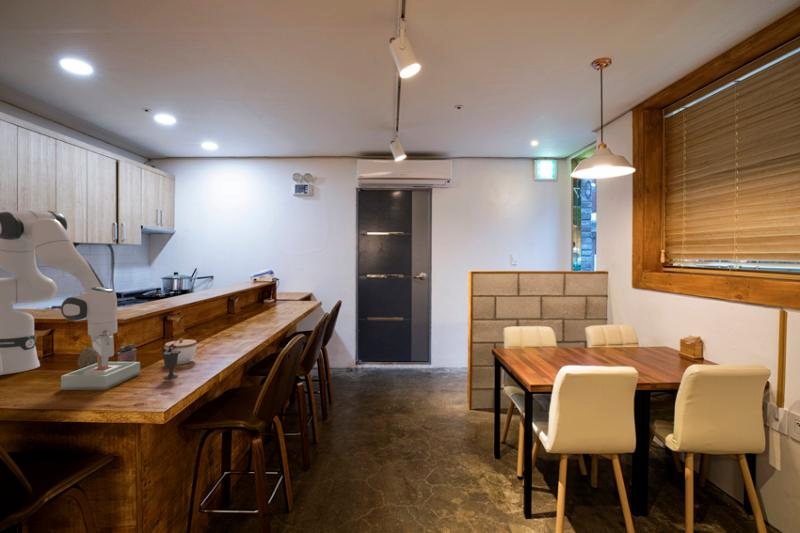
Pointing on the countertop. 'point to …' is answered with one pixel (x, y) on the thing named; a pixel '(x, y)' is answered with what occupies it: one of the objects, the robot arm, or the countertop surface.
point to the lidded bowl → (184, 349)
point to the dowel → (100, 363)
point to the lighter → (127, 353)
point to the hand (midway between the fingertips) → (103, 364)
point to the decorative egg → (87, 358)
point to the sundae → (170, 359)
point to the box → (100, 376)
